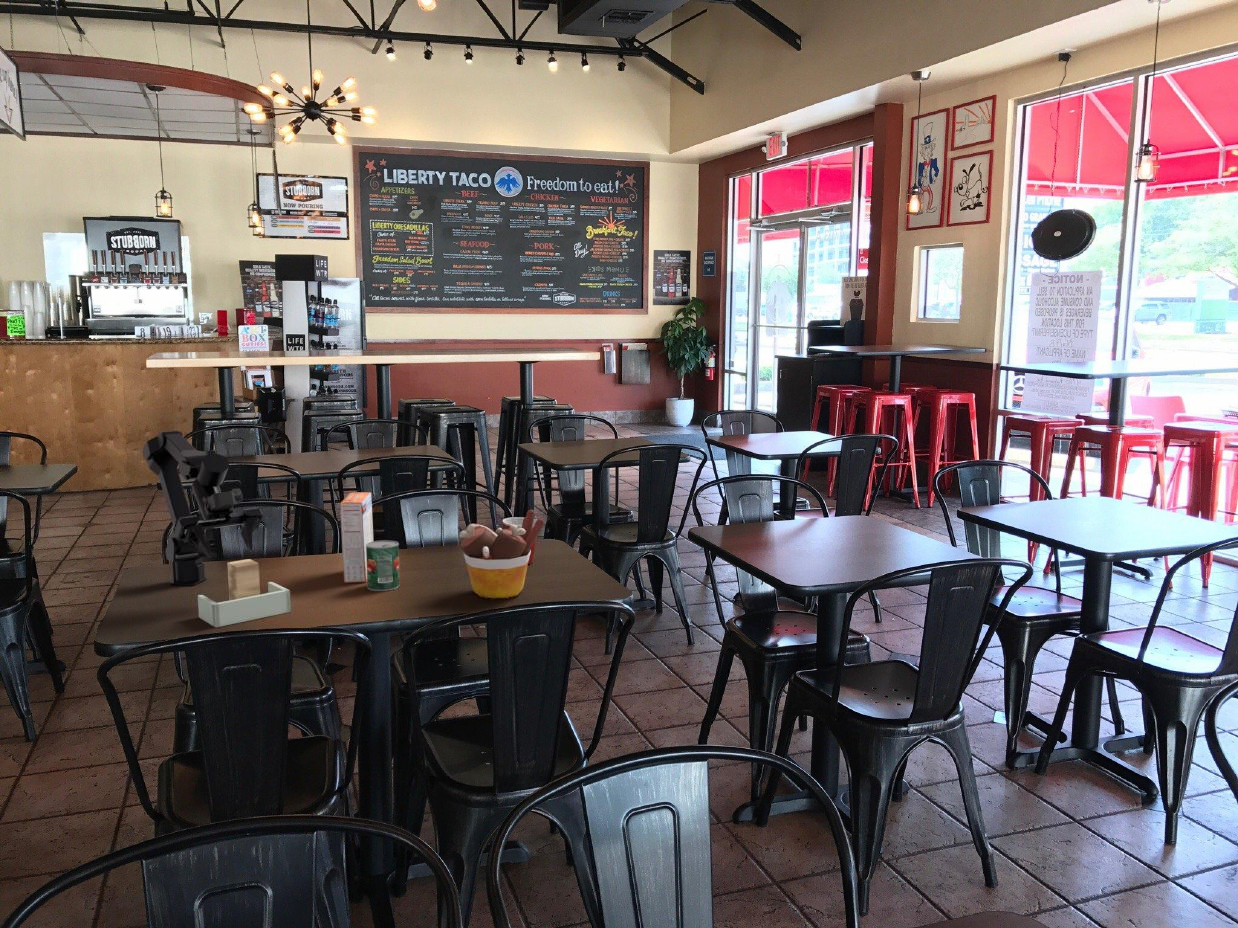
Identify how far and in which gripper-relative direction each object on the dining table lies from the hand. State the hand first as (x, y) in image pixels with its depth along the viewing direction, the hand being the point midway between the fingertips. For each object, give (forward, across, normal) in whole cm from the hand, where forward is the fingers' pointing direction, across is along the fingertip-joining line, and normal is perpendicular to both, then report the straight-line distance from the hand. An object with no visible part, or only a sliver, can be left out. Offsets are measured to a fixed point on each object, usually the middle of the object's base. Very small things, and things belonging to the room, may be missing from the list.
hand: (231, 553), depth 222 cm
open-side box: (+14, 0, +4) cm, 15 cm away
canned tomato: (+14, +34, +4) cm, 38 cm away
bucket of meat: (+31, +53, -12) cm, 63 cm away
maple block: (+14, 0, +4) cm, 15 cm away
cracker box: (+5, +35, +14) cm, 38 cm away
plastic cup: (+17, +74, +1) cm, 76 cm away
